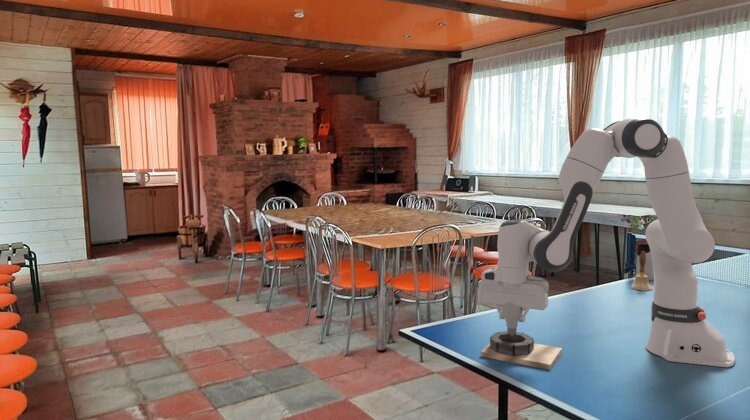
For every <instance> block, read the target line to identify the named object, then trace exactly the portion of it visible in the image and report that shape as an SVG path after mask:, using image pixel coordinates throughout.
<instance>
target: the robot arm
mask: <svg viewBox="0 0 750 420" xmlns="http://www.w3.org/2000/svg"><path fill="white" fill-rule="evenodd" d="M614 158H626V159H627V158H628V159H631V158H639V160H640V162H641V164H642V166H643V168H644V177H645V182H646V188H647V193H648V200H649V201H648V202H649V204H650V206H651V208H652V209H653V211H654V213H655V215H656V217H657V219H655V220H652V221H651V222H649V224H648V225H647V227H646V229H645V232H644V233H645V240H646V241H647V244H649V247H650V253H651V259H652V264H653V270H654V280H653V301H652V303H651V307H650V309H651V310H650V319H651V326H650V330H649V331H650V332H649V336H648V339H647V341H646V343H645V349H646V350H647V351H649V352H650V353H652V354H654V355H656V356H659V357H661V358H663V359H664V360H665V361H668V362H672V363H673V362H674V363H684V364H691V365H700V366H701V365H703V366H710V367H721V368H730V367H732V366H734V365H735V363H736V362H735V361H736V359H735V358H736V357H735V355H734V353H733V352H732V351H731V350H730V349H728V348H727V345H726V341H725V338H724V337H723V335H722V333H721V332H720V331H718V330H717V329H716V328H714V327H713V326H712V325H711V324H710V323H708V322H707V321H706V319H707V315H706V313H705V310H704V308H703V307H700V306H698V305H697V301H698V283H699V282H698V278H697V276H696V274H695V271H694V268H693V265H692V264H698V263H699V264H700V263H704V262H706V261H707V260H708V259H709V258H711V256H712V255H713V253H714V251H715V247H716V243H715V239H714V237H713V236H712V234H711V233H710V232H709V231H708V229H707V227H706V225H705V223H704V220H703V218H702V216H701V214H700V211H699V209H698V206H697V203H696V200H695V197H694V194H693V187H692V183H691V176H690V172H689V165H688V161H687V157H686V154H685V150H684V148H683V146H682V142H681V141H680V140H679V139H678V138H677V137H675V136H672V135H667V134H666V132H664V130H663V127H662V126H661V125H660V124H659V123H658V122H657V121H656V120H655V119H651V118H649V117H644V116H643V117H642V116H641V117H629V118H625V119H623V120H618V121H615V122H612V123H611V124H609V125H607V126H606V127H605V128H603V129H601V128H596V127H591V128H587V129H585V130H584V131H583V132H582V133H581V134H580V135H579V137H577V139H576V141H575V142H574V143H573V146H572V147H571V149H570V150H569V152H568V154H567V155H566V157H565V159H564V162H563V163H562V165H561V168H560V172H559V175H558V183H559V184H558V185H559V186H560V188H561V191H562V194H563V202H562V203H563V204H562V206H561V209H560V211H559V213H558V216H557V218H556V220H555V222H554V225H553V227H552V229H551V230H550V231H549V230H547V229H543V228H540V227H538V226H535V225H534V224H532V223H530V222H529V221H527V220H526V219H523V218H515V219H514V218H513V219H509V220H506V221H503V222H502V223H501V224H500V226H499V227H498V233H497V245H496V246H497V249H496V250H497V253H498V260H497V263H496V264H497V266H496V267H491V268H490V267H489V268H488V269H486V270H484V271H483V272H481V274H480V277H481V279H482V280H481V281H480V282H479V285H478V291H477V292H478V293H477V297H478V298H477V299H478V300H479V302H481V303H485V304H493V305H495V309H496V311H497V313H498V315H499V320H505V317H504V316H503V314H502V305H504V304H505V303H513V304H515V305H516V306H517V307H521V308H523V313H522V315H521V316H520V317H519V321H518V323H525V322H526V317H527V315H528V313H529V312H530V310H539V311H544V310H546V309H547V307H549V297H548V296H549V294H548V292H549V288H550V285H549V282H548V280H547V279H544V277H542V276H541V277H540V276H539V277H537V276H532V275H529V263H530V262H535V263H536V264H537V265H538V266H539V267H540V269H542V270H543V271H546V272H548V273H557V272H561V271H563V270H564V269H565V270H566V268H567V267H568V266H569V265H570V264H571V262H572V260H573V256H574V250H575V249H574V247H575V246H574V245H575V240H576V237H577V235H578V233H579V230H580V227H581V226H582V223H583V221H584V219H585V216H586V214H587V212H588V209H589V207H590V205H591V204H590V203H591V201H592V198H593V196H594V192H596V188H597V187H598V185H599V183H600V181H601V179H602V177H603V175H604V173H605V171H606V169H607V167H608V165H609V163H610V162H611V161H612V159H614Z"/></svg>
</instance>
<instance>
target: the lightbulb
mask: <svg viewBox="0 0 750 420" xmlns="http://www.w3.org/2000/svg"><path fill="white" fill-rule="evenodd" d="M501 308H502V314H503V316H504V317H505V319H504V320H505V323H506V324H505V325H506V327H507V328H506V329H507V330H506V331H508V334H510V335H511V336H513V335H515V334H516V332H517V329H518V325H519V324H518V323H519V317H520V316H521V315H523V313H524V311H523V308H521V307H517V306H516V305H515V304H513V303H505V304H504V305H502V306H501Z"/></svg>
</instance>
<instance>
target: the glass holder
mask: <svg viewBox="0 0 750 420" xmlns="http://www.w3.org/2000/svg"><path fill="white" fill-rule="evenodd" d="M636 250H637V253H636V263H635V264H636V266H635V267H636V268H635V275H634V278H635V279H636V275H638V274H640V262H639V257H640V254H641V251H645V255H646V263H645V266H644V274H645V275H646V276H648V281H654V270H653V264H652V259H651V253H650V247H649V244H648V243H639V244H637V249H636Z"/></svg>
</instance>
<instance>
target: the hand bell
mask: <svg viewBox="0 0 750 420" xmlns="http://www.w3.org/2000/svg"><path fill="white" fill-rule="evenodd" d="M639 262H640V274H638V275H636V274H635V276H636V278H635V281H634V282H633V284H632V285H631V286H630V288H631V289H633V290H637V291H646V292H647V291H652V290H654V287H652V286H651V284H650V282H649V280H648V276H646V275H645V274H644V266H645V263H646V255H645V251H641V254H640V257H639Z"/></svg>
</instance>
